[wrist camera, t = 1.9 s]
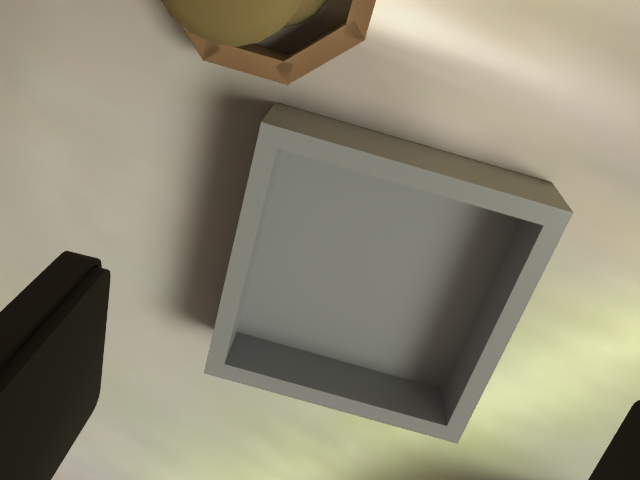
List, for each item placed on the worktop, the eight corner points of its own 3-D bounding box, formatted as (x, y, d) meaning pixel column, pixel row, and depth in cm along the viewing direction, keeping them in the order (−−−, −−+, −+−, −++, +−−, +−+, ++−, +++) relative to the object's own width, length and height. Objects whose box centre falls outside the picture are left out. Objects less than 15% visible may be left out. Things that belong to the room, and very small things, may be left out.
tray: (275, 102, 31) (261, 121, 28) (552, 182, 32) (573, 212, 28) (221, 332, 38) (203, 373, 34) (450, 397, 38) (457, 443, 35)
